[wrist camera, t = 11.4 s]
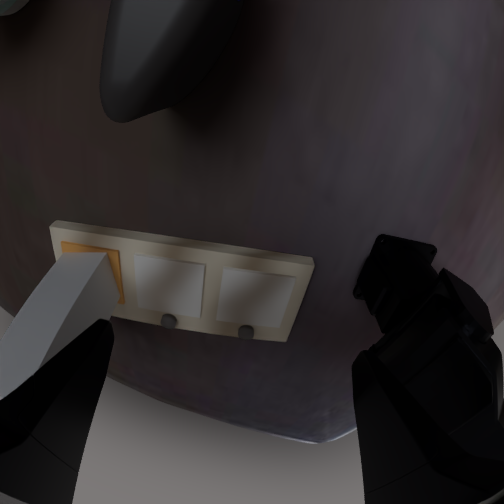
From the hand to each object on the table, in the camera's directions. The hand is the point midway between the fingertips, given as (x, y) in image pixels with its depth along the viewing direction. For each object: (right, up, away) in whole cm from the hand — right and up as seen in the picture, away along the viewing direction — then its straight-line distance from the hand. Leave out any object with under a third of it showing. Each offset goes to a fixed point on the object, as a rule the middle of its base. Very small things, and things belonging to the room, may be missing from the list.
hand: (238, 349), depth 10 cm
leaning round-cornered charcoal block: (-3, +20, +3) cm, 20 cm away
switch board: (-6, +1, +15) cm, 16 cm away
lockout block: (-13, +1, +13) cm, 18 cm away
